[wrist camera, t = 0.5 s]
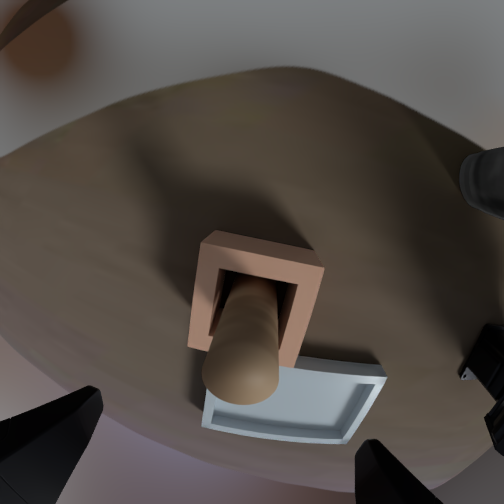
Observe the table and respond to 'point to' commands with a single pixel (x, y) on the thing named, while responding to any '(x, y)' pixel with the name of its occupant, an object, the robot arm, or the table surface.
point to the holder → (263, 265)
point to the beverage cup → (484, 181)
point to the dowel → (245, 344)
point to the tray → (304, 403)
